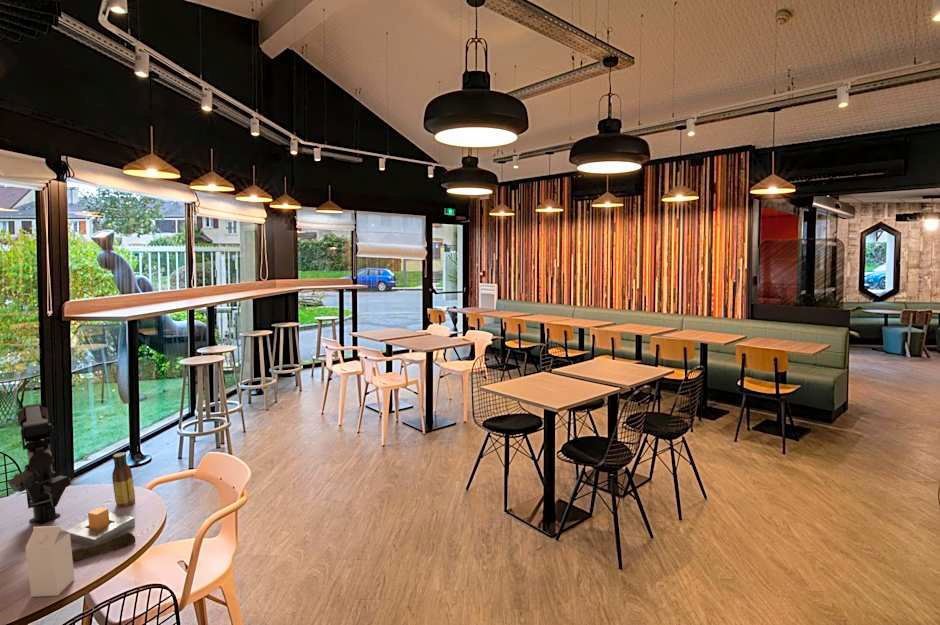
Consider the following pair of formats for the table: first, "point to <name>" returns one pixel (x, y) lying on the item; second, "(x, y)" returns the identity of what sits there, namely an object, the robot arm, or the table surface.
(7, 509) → the table surface
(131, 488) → the sauce bottle
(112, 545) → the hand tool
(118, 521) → the grey square hole board
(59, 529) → the milk carton
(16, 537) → the table surface
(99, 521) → the orange rectangular block
